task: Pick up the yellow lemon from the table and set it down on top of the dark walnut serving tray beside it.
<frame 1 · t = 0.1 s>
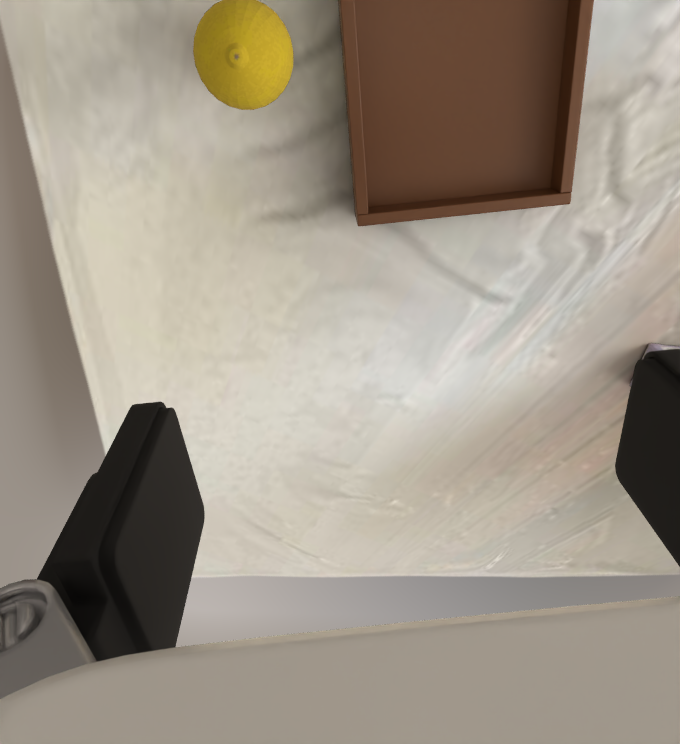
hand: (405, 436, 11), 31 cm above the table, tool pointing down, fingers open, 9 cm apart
tray: (457, 68, 36), on the table
lemon: (251, 54, 35), on the table
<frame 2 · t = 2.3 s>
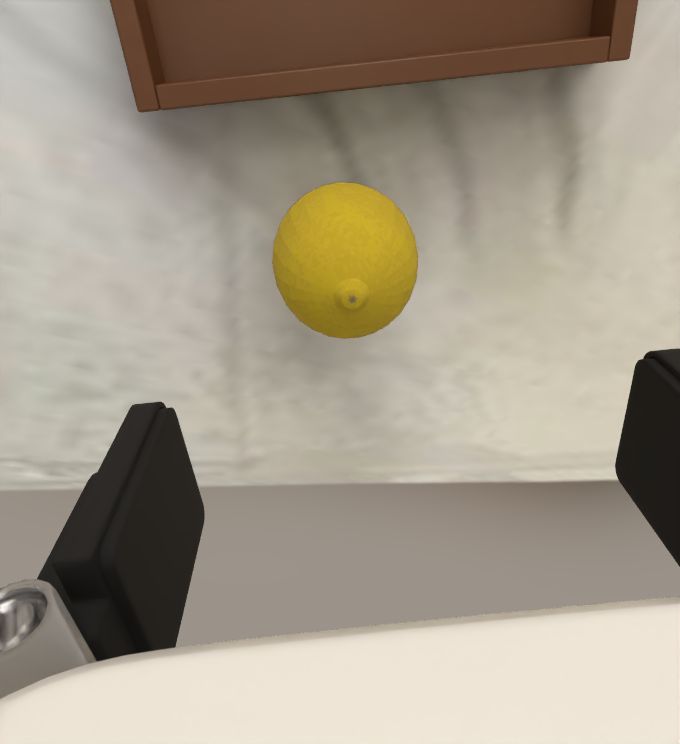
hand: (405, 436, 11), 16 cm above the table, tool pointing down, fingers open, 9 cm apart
lemon: (338, 228, 25), on the table
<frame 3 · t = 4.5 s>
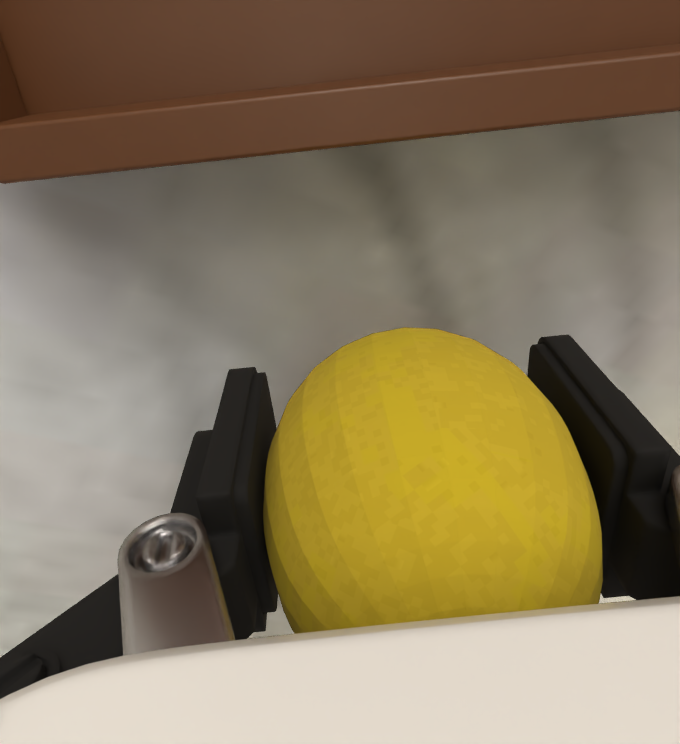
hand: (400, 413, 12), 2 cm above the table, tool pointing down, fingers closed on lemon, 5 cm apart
lemon: (390, 374, 14), on the table, touching gripper
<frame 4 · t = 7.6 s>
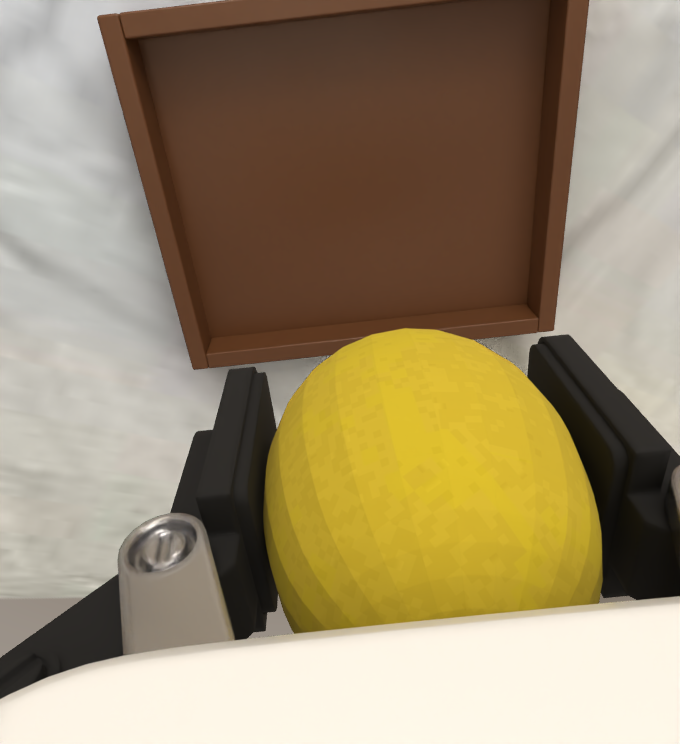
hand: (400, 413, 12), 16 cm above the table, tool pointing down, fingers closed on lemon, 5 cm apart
tray: (356, 184, 25), on the table
lemon: (390, 374, 14), point 15 cm above the table, touching gripper
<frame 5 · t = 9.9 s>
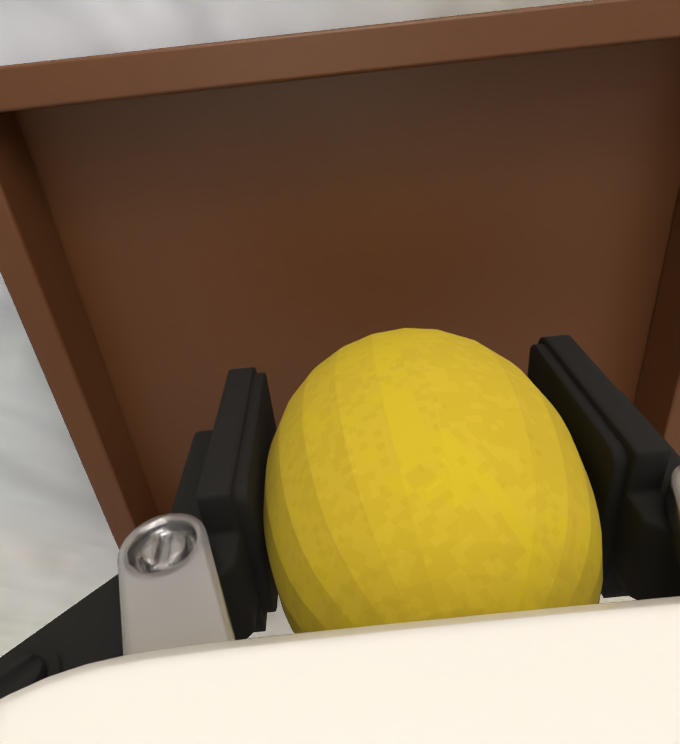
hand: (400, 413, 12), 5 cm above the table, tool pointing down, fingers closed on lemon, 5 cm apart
tray: (375, 314, 17), on the table
lemon: (390, 374, 14), point 4 cm above the table, touching gripper
when the fingers open (2 cm above the table, at t = 11.2 s): lemon stays where it is, resting on tray.
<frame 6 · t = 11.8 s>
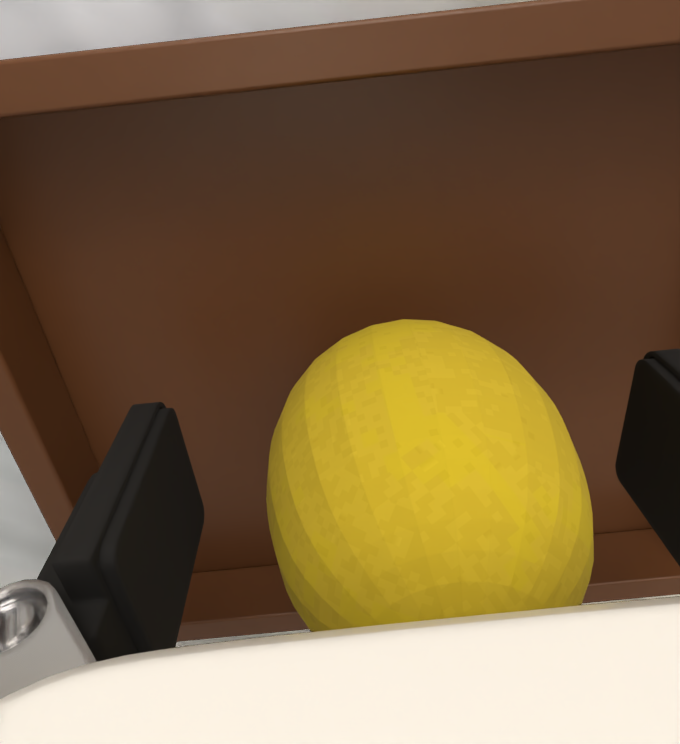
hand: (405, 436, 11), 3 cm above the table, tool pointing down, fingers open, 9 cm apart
tray: (389, 354, 14), on the table
lemon: (390, 366, 14), point 1 cm above the table, touching tray
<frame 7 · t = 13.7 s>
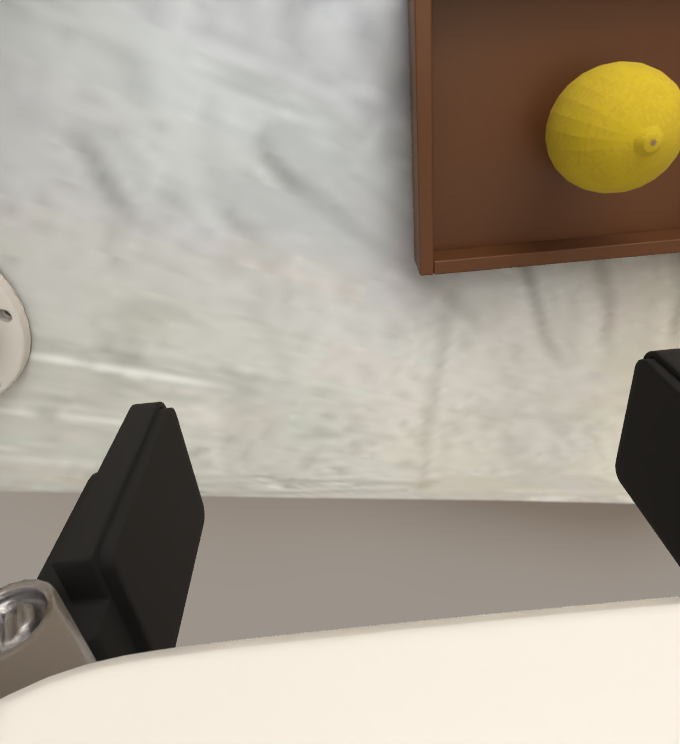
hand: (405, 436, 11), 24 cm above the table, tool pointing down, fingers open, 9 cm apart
tray: (574, 116, 30), on the table
lemon: (577, 118, 29), point 1 cm above the table, touching tray
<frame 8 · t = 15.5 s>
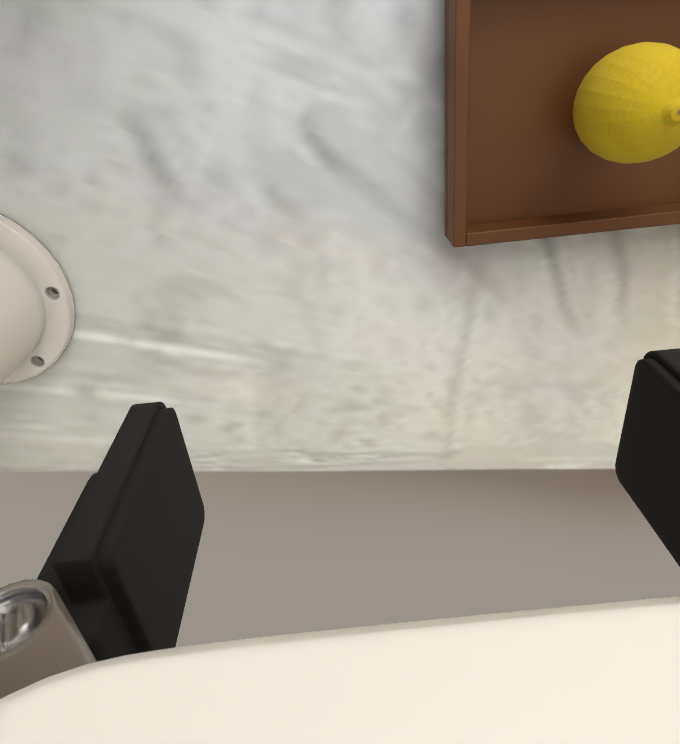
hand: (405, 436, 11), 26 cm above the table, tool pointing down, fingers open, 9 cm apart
tray: (594, 96, 32), on the table
lemon: (598, 98, 32), point 1 cm above the table, touching tray
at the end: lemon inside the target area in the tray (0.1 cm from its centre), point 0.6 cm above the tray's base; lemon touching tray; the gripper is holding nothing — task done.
